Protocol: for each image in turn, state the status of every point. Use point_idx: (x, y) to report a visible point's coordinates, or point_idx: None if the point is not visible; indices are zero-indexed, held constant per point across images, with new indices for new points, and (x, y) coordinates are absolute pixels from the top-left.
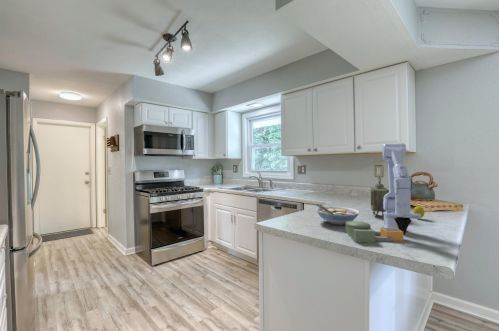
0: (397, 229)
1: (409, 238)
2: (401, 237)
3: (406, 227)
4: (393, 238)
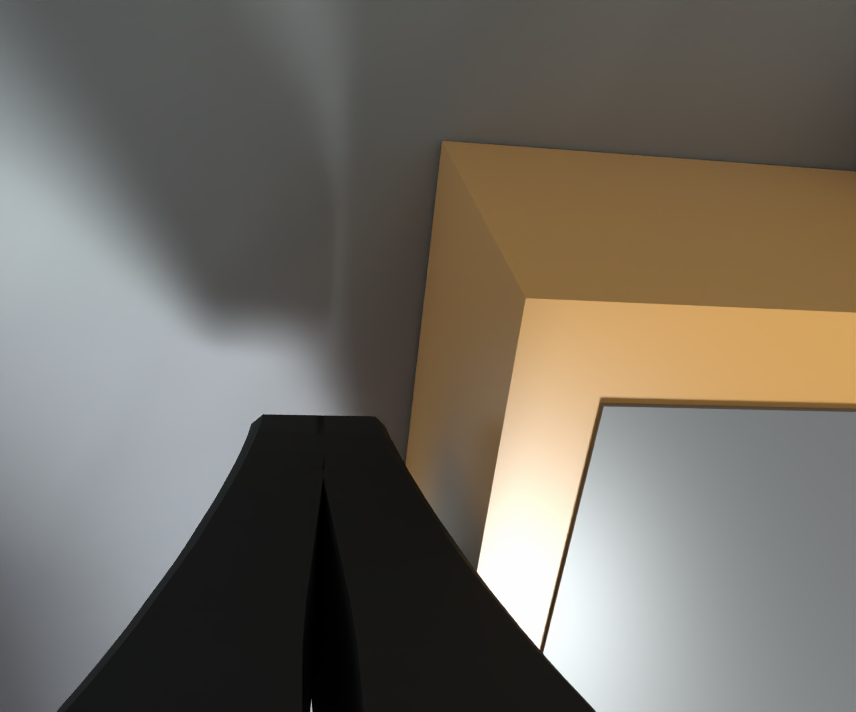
0: (561, 649)
1: (36, 436)
2: (538, 190)
3: (179, 661)
4: (828, 187)
